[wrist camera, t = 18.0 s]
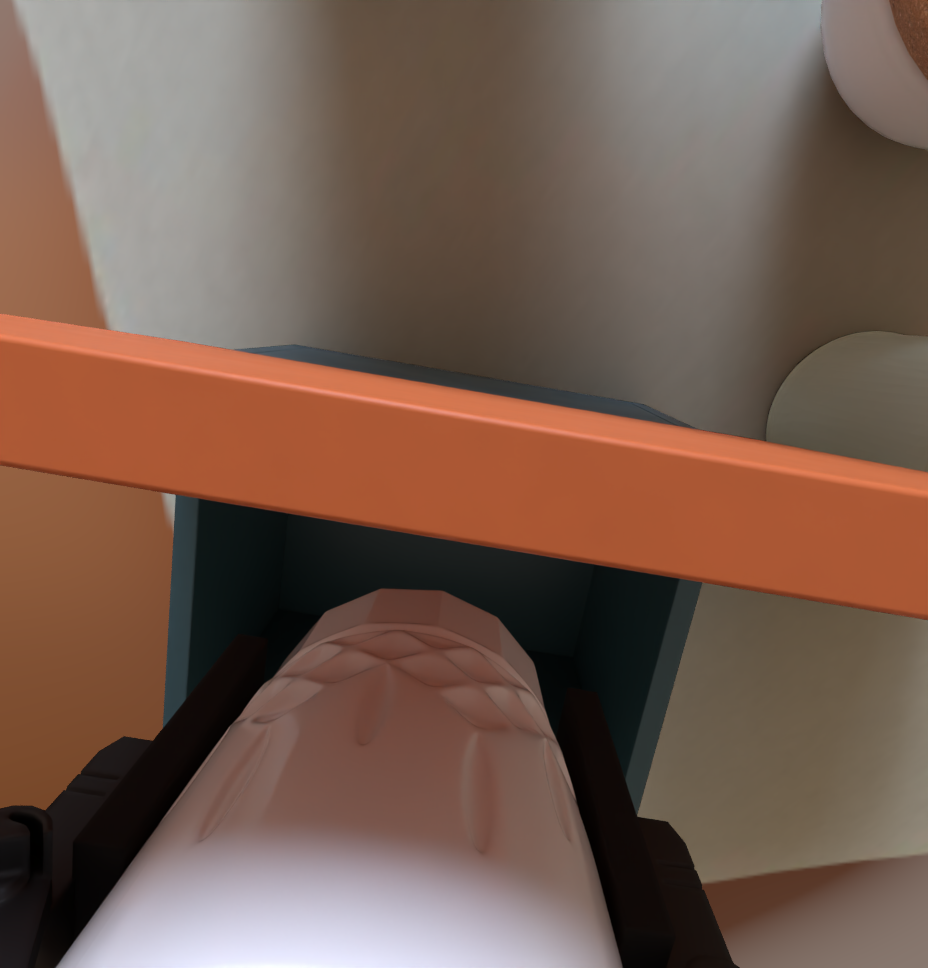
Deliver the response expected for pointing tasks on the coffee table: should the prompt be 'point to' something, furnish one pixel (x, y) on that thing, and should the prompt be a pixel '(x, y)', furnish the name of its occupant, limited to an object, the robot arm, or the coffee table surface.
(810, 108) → the coffee table surface
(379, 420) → the lid
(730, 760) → the coffee table surface
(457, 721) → the white cup
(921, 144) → the lidded bowl
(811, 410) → the can
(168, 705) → the container
